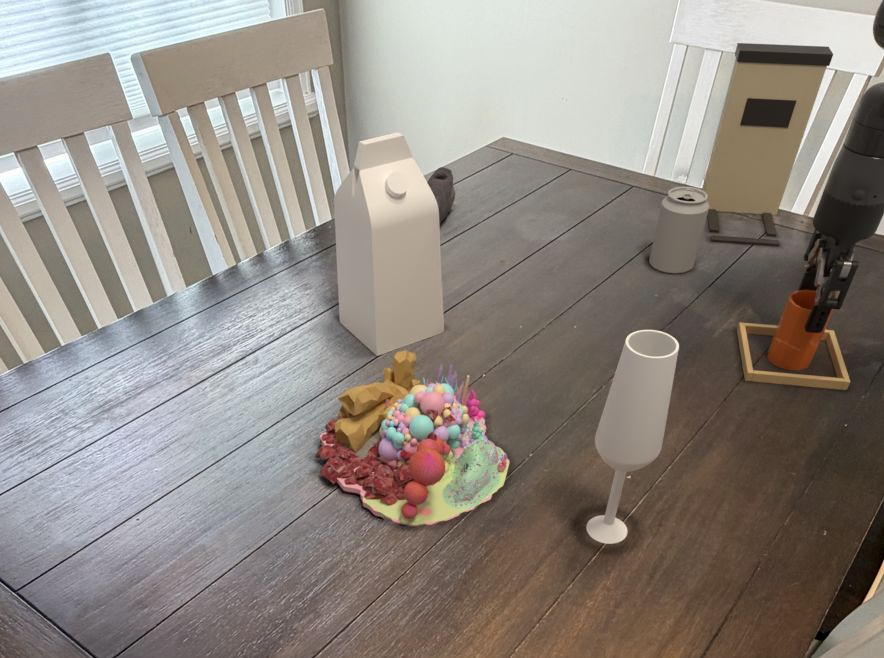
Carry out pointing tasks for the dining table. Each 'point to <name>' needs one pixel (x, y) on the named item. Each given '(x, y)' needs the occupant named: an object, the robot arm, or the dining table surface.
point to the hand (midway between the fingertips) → (807, 315)
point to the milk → (388, 248)
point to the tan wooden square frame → (786, 378)
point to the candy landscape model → (413, 447)
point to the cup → (795, 333)
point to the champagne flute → (634, 418)
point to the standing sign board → (761, 131)
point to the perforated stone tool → (442, 190)
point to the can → (679, 230)
